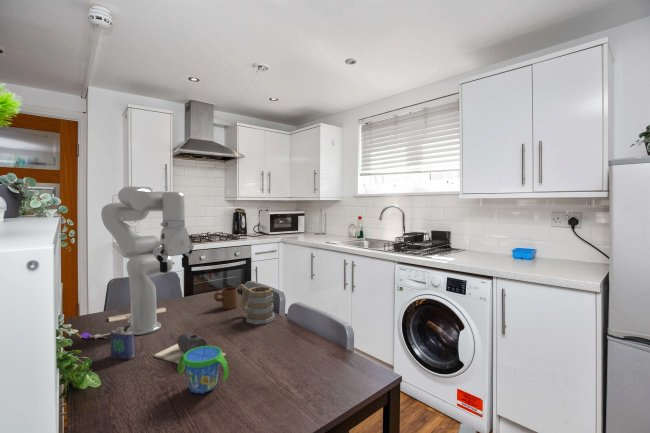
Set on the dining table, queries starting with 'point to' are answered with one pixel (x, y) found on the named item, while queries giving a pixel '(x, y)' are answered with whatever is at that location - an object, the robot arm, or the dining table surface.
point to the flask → (122, 344)
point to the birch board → (173, 354)
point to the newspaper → (128, 316)
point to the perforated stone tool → (190, 342)
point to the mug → (227, 297)
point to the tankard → (258, 304)
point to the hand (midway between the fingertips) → (175, 269)
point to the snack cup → (203, 368)
